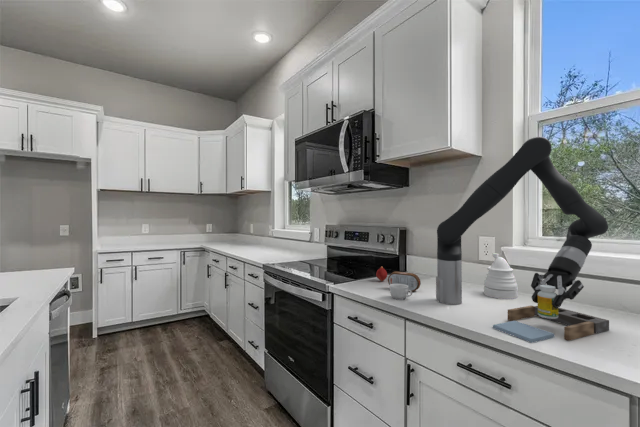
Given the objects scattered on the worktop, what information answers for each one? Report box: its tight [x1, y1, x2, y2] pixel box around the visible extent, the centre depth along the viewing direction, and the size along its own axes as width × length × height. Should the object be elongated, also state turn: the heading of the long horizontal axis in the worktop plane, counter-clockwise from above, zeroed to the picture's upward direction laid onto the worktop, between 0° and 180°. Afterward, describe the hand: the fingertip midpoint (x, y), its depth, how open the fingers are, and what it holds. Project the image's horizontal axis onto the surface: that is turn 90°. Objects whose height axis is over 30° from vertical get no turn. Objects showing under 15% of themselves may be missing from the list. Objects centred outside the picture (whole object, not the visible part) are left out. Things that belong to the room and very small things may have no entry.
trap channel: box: [507, 305, 610, 342], centre depth 100 cm, size 20×18×4 cm
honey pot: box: [483, 252, 519, 300], centre depth 136 cm, size 13×13×18 cm
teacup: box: [389, 284, 413, 301], centre depth 131 cm, size 10×8×5 cm
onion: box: [375, 266, 388, 282], centre depth 164 cm, size 6×6×8 cm
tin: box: [387, 270, 422, 292], centre depth 145 cm, size 15×3×8 cm, turn 58°
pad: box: [492, 320, 555, 344], centre depth 93 cm, size 10×12×1 cm
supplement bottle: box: [537, 284, 558, 319], centre depth 98 cm, size 5×5×10 cm
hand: (544, 303), depth 97 cm, fingers closed on supplement bottle, 5 cm apart
